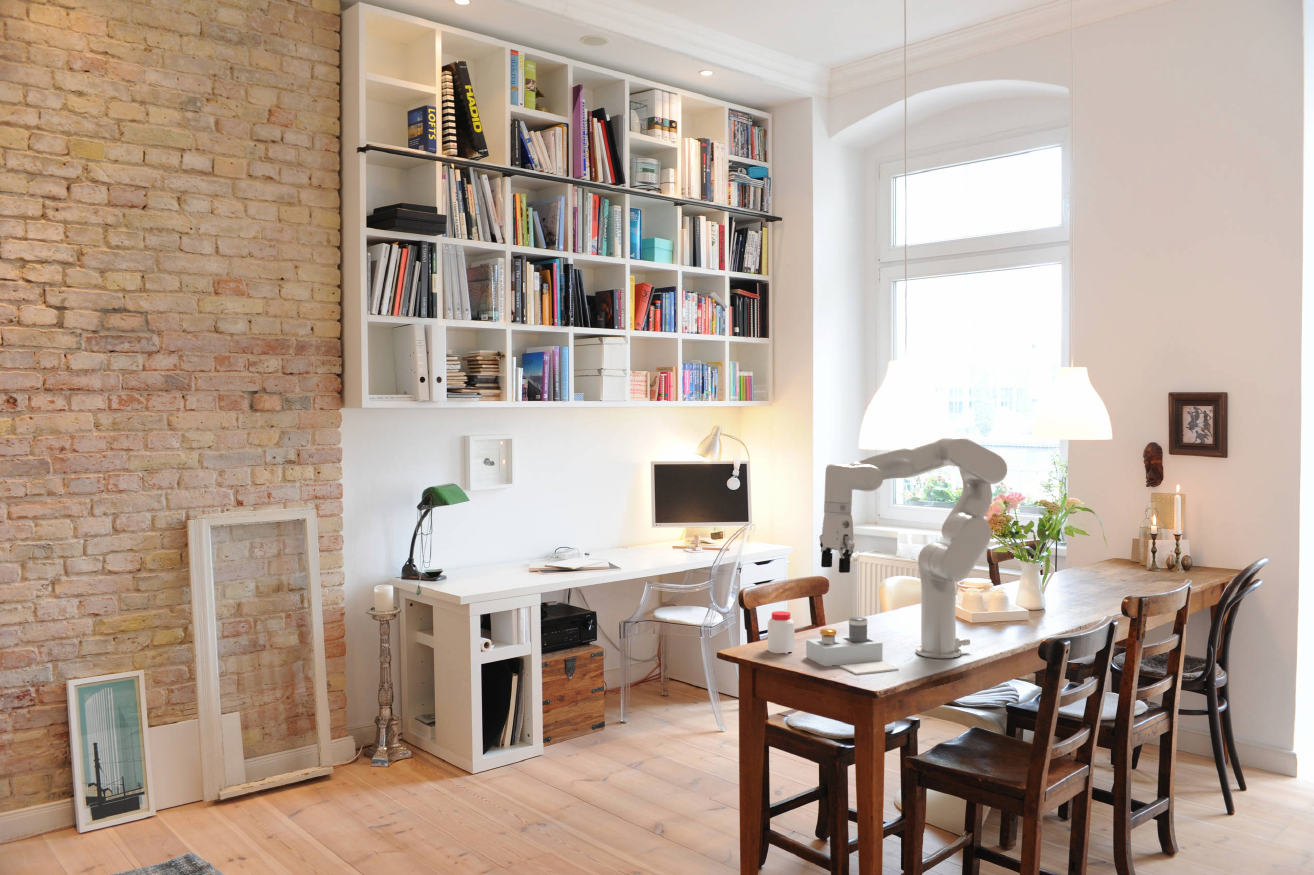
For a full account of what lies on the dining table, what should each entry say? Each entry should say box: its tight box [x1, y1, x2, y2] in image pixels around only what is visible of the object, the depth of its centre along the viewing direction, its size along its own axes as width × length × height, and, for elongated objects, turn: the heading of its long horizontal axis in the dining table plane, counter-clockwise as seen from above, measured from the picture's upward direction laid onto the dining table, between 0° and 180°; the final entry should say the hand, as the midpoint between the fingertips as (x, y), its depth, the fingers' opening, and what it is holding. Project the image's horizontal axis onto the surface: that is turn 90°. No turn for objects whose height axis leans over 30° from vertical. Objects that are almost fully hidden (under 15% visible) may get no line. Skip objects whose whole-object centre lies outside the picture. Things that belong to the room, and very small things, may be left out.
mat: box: [839, 660, 899, 676], centre depth 275 cm, size 13×8×1 cm, turn 109°
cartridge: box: [848, 616, 868, 643], centre depth 287 cm, size 5×5×11 cm
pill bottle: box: [767, 610, 796, 654], centre depth 296 cm, size 8×8×11 cm
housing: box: [805, 635, 883, 667], centre depth 286 cm, size 18×11×5 cm, turn 109°
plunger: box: [819, 628, 837, 646], centre depth 284 cm, size 4×4×6 cm
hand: (835, 569), depth 283 cm, fingers open, 9 cm apart
